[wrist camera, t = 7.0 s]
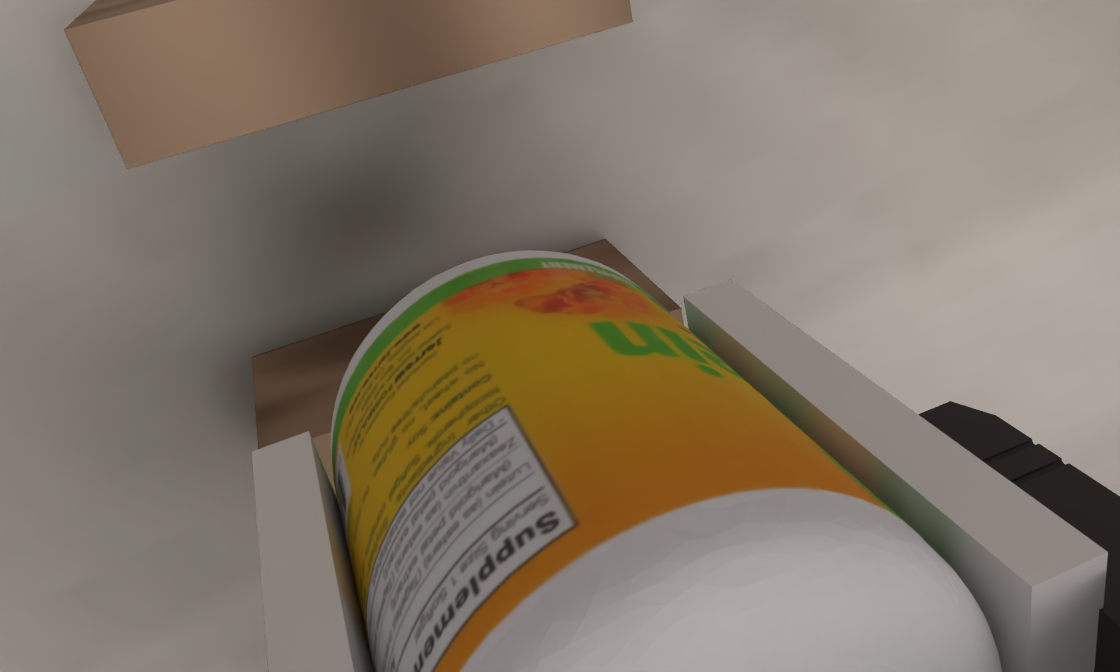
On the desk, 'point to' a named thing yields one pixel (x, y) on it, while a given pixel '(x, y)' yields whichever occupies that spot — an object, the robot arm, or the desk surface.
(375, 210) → the desk surface
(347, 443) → the supplement bottle
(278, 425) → the brown blocks
